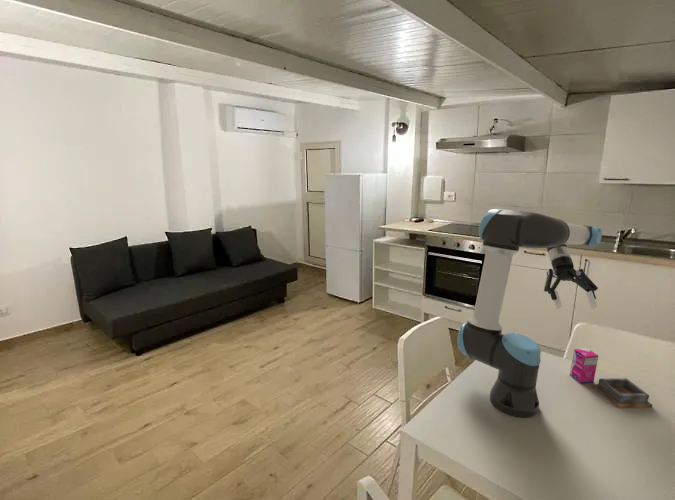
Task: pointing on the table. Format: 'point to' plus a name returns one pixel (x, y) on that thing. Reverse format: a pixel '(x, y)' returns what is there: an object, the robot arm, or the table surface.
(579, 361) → the supplement box
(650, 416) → the table surface
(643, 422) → the table surface
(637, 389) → the socket
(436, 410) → the table surface
